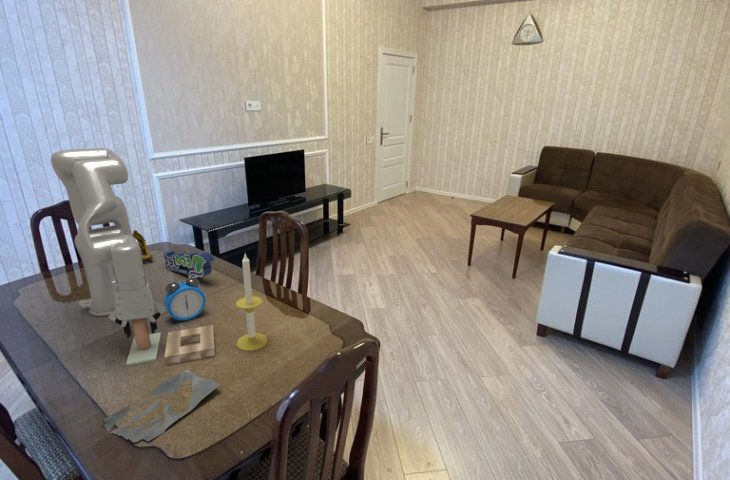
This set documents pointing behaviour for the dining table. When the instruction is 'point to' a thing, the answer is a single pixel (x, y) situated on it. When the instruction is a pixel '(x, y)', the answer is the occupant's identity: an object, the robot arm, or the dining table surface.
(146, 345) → the peg
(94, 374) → the dining table surface
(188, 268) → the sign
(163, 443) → the dining table surface
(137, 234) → the shrine
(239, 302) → the candle
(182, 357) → the pocket frame
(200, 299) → the alarm clock
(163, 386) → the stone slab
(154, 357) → the mat
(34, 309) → the dining table surface
